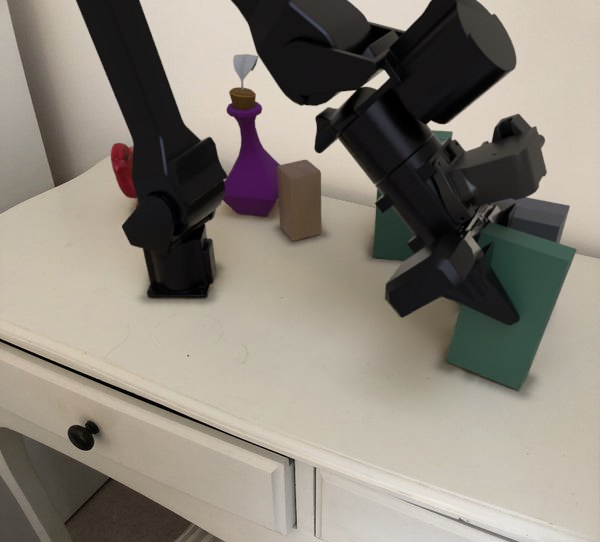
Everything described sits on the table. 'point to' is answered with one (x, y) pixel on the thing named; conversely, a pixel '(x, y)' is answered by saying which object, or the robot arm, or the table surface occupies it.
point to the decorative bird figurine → (123, 168)
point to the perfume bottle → (249, 153)
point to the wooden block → (299, 199)
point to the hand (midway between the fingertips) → (519, 312)
